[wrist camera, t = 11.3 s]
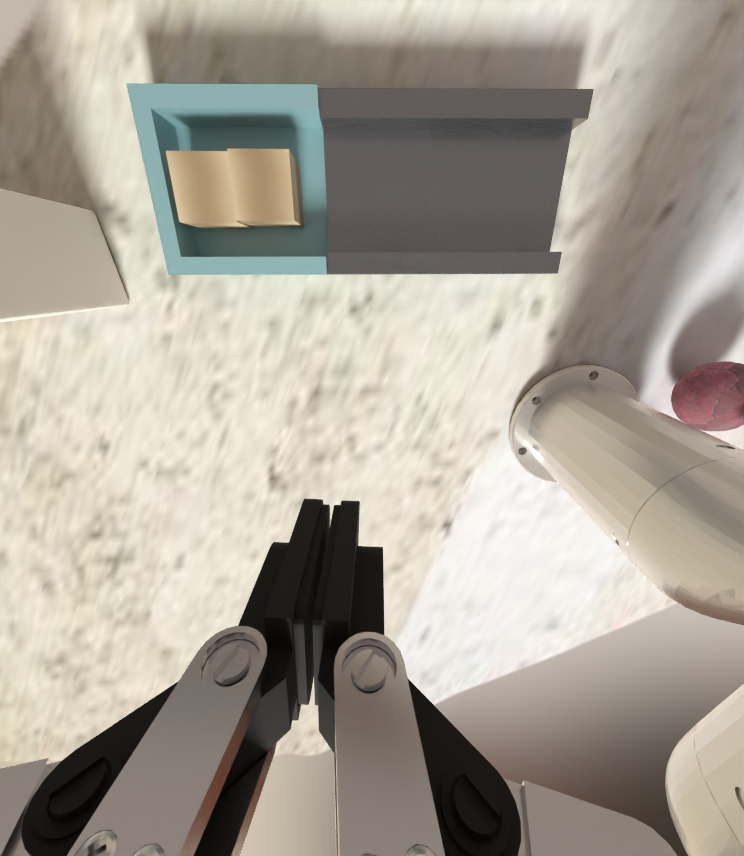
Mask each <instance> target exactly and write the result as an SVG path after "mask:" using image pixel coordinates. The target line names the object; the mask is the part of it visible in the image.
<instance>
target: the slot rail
mask: <svg viewBox="0 0 744 856" xmlns="http://www.w3.org/2000/svg"><path fill="white" fill-rule="evenodd" d="M593 90H594V89H391V88H318V94H319V115H320V121H321V124H322V127H323V138H324V159H325V180H326V201H327V222H328V243H329V252H326V254H327V273H328V274H550V273H558V269H559V264H560V259H561V253H562V252H549V251H550V246H551V240H552V235H553V229H554V224H555V218H556V213H557V207H558V202H559V197H560V191H561V186H562V180H563V175H564V169H565V164H566V158H567V153H568V147H569V142H570V136H571V131H572V129H574V128H575V127H577V126H578V125H579V124H581V123H582V122H584V121H585V120H586V119H588V115H589V110H590V105H591V100H592V95H593Z"/></svg>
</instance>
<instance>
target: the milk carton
mask: <svg viewBox="0 0 744 856" xmlns="http://www.w3.org/2000/svg"><path fill="white" fill-rule="evenodd" d="M128 304H129V300H128V297H127V295H126V292H125V290H124V287H123V284H122V282H121V279H120V277H119V274H118V272H117V269H116V266H115V264H114V261H113V259H112V256H111V253H110V251H109V248H108V246H107V243H106V241H105V238H104V235H103V233H102V230H101V228H100V225H99V223H98V220H97V218H96V215H95V213H94V212H93V211H92V210H88V209H84V208H80V207H76V206H72V205H68V204H64V203H59V202H55V201H51V200H47V199H43V198H39V197H34V196H30V195H26V194H22V193H18V192H14V191H10V190H5V189H1V188H0V322H4V321H12V320H20V319H29V318H37V317H45V316H52V315H60V314H67V313H74V312H81V311H88V310H95V309H103V308H110V307H117V306H124V305H128Z"/></svg>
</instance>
